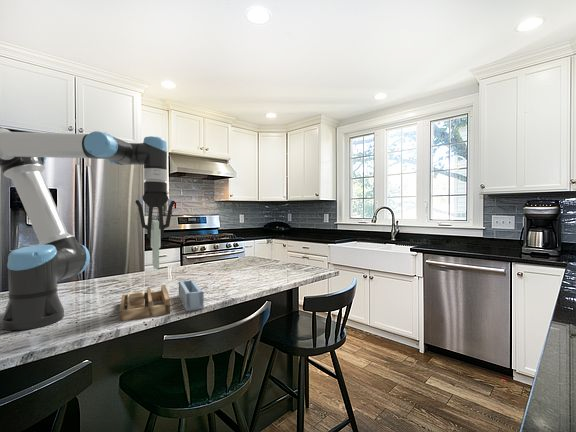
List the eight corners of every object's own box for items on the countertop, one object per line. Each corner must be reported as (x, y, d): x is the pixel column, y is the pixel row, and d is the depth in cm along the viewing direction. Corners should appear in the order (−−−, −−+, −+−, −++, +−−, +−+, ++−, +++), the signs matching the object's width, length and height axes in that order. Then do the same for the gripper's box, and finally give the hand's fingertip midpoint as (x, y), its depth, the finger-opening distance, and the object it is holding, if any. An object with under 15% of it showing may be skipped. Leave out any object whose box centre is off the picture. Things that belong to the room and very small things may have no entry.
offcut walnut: (130, 305, 99) (130, 298, 99) (129, 301, 103) (129, 294, 103) (144, 303, 101) (144, 296, 101) (142, 299, 106) (142, 292, 105)
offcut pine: (127, 309, 108) (127, 296, 108) (130, 304, 113) (129, 292, 113) (143, 307, 109) (142, 295, 109) (145, 302, 115) (144, 290, 115)
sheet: (154, 268, 104) (153, 221, 104) (152, 263, 115) (152, 220, 114) (159, 268, 105) (159, 221, 104) (157, 262, 116) (157, 220, 115)
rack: (119, 320, 96) (119, 304, 96) (122, 303, 114) (122, 289, 114) (170, 313, 103) (170, 298, 103) (165, 297, 121) (165, 285, 121)
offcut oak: (127, 318, 99) (127, 306, 99) (128, 312, 104) (128, 301, 104) (144, 316, 101) (144, 304, 101) (144, 310, 106) (144, 299, 106)
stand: (185, 311, 105) (185, 293, 105) (178, 296, 123) (178, 281, 123) (203, 308, 108) (203, 291, 108) (194, 294, 126) (194, 279, 125)
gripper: (132, 179, 102) (132, 249, 103) (178, 181, 109) (178, 247, 110) (132, 181, 109) (132, 247, 110) (176, 183, 116) (176, 245, 116)
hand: (155, 247), depth 110 cm, fingers closed on sheet, 2 cm apart
